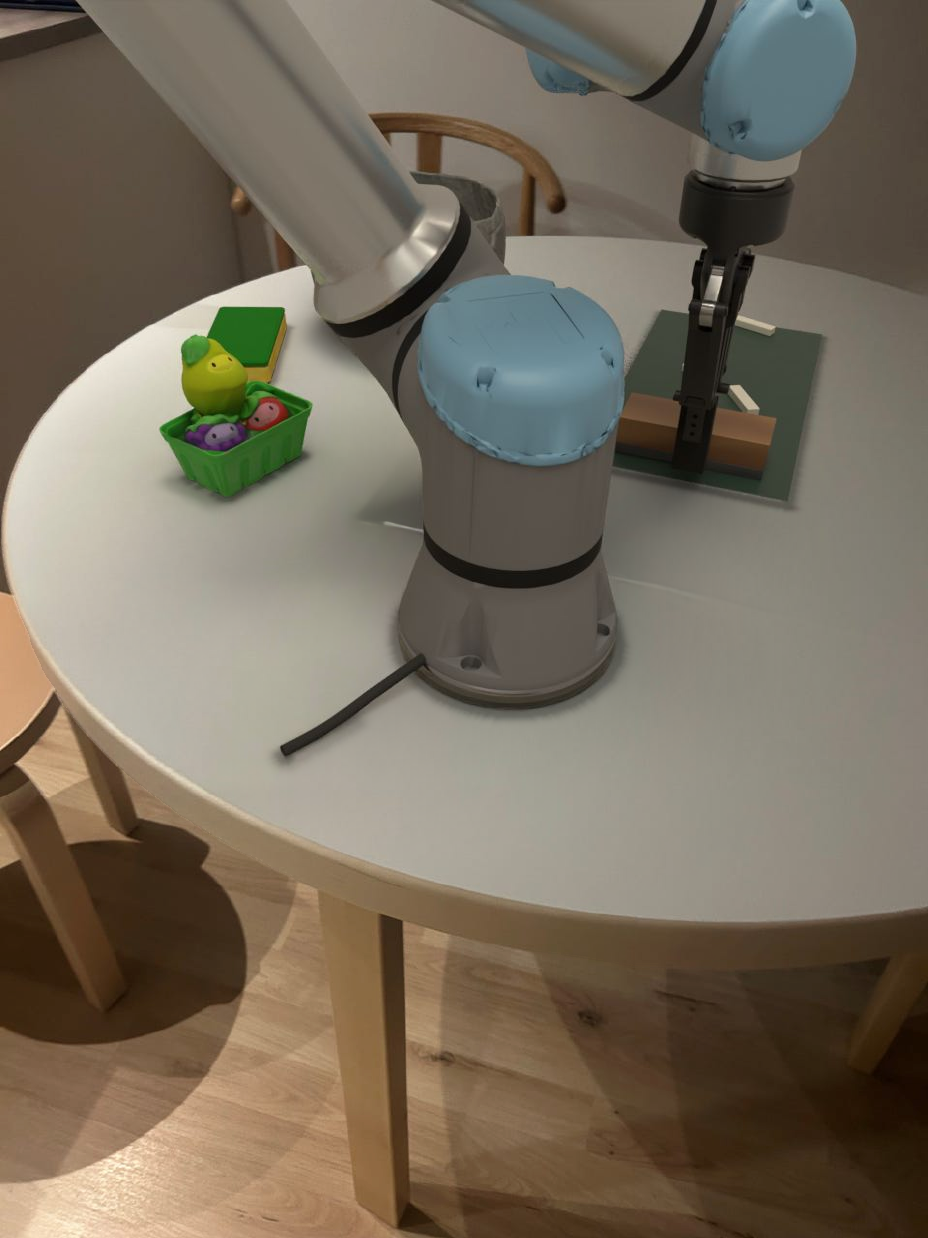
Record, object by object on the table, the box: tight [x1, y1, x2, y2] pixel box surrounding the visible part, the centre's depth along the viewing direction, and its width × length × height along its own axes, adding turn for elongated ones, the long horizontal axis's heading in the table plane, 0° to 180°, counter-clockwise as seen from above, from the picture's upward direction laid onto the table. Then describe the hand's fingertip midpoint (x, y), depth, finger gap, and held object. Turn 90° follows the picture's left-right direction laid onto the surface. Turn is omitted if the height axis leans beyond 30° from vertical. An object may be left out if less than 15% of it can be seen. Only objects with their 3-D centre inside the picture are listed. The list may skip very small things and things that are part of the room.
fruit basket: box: [158, 333, 314, 498], centre depth 81 cm, size 11×9×11 cm
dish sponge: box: [205, 306, 288, 384], centre depth 101 cm, size 7×14×2 cm, turn 1°
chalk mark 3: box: [735, 314, 777, 336], centre depth 107 cm, size 5×1×1 cm, turn 50°
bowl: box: [310, 170, 507, 284], centre depth 101 cm, size 20×20×15 cm
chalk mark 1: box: [728, 385, 760, 415], centre depth 93 cm, size 5×1×1 cm, turn 10°
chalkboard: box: [612, 309, 823, 502], centre depth 96 cm, size 36×18×1 cm, turn 160°
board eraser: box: [615, 393, 777, 480], centre depth 85 cm, size 5×13×4 cm, turn 70°
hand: (688, 466), depth 82 cm, fingers closed
